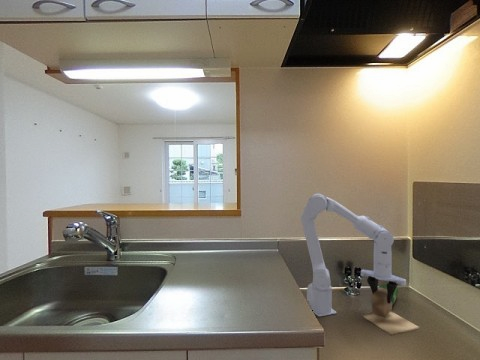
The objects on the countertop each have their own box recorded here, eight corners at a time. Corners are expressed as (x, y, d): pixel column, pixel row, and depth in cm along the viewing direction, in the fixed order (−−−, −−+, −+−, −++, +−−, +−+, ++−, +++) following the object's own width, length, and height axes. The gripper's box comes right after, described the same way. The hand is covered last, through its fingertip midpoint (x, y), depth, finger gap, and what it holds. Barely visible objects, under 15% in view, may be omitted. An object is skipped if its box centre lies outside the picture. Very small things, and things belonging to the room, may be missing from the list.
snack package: (371, 306, 108) (371, 293, 108) (380, 292, 120) (380, 280, 120) (391, 312, 104) (392, 298, 103) (399, 297, 116) (399, 285, 116)
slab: (372, 313, 97) (372, 294, 97) (380, 306, 103) (380, 287, 103) (384, 317, 94) (384, 297, 94) (392, 309, 100) (392, 290, 100)
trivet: (363, 317, 99) (363, 315, 99) (389, 311, 103) (389, 310, 103) (391, 335, 88) (391, 333, 88) (419, 328, 92) (419, 327, 92)
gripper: (357, 260, 101) (357, 297, 101) (401, 270, 91) (401, 311, 91) (364, 256, 106) (365, 291, 106) (407, 265, 96) (407, 303, 96)
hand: (382, 300), depth 99 cm, fingers closed on slab, 4 cm apart
